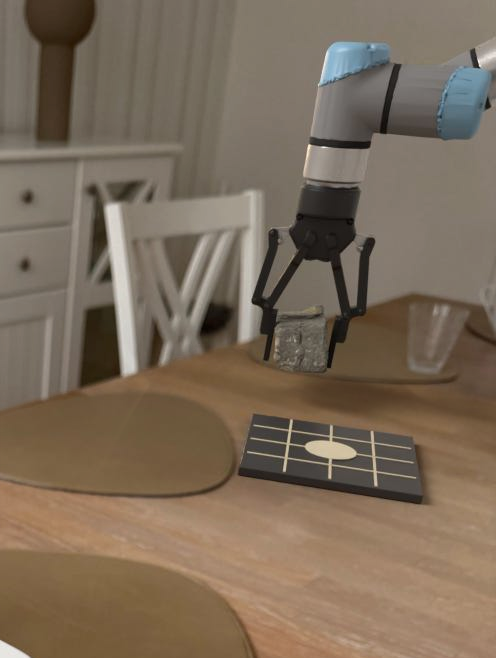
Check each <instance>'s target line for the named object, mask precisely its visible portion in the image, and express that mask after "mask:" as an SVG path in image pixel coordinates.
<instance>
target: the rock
mask: <svg viewBox="0 0 496 658" xmlns="http://www.w3.org/2000/svg"><path fill="white" fill-rule="evenodd" d="M324 311H325V307H324V305H323V304H319V303H317V304H314V305H312V306H310V307H308V308H307V309H304V310H301V311H297V310H291V311H287V310H286V311H285V310H280V311H278V313H277V318H276V324H275V329H274V335H275V336H274V337H275V339H274V341H275V342H274V353H273V361H274V363H276V366H277V368H278V369H280V370H281V371H283V372H293V373H306V374H307V373H308V374H325V373H327V372H328V368H327V360H328V348H329V347H328V319H327V317H326V315H325V312H324Z"/></svg>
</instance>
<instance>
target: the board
mask: <svg viewBox="0 0 496 658" xmlns="http://www.w3.org/2000/svg"><path fill="white" fill-rule="evenodd" d="M415 447H416V446H415V442H414V437H413V436H410V435H405V434H404V435H403V434H397V433H390V432H383V431H375V430H370V429H362V428H355V427H350V426H349V427H348V426H343V425H335V424H334V425H333V424H327V423H322V422H321V423H320V422H315V421H307V420H301V419H294V418H289V417H288V418H287V417H281V416H274V415H266V414H261V413H255V412H254V413H253V412H252V414H251V417H250V422H249V426H248V429H247V435H246V437H245V441H244V446H243V450H242V454H241V457H240V461H239V466H238V471H237V475H238V476H243V477H249V478H256V479H260V480H261V479H262V480H268V481H274V482H280V483H287V484H294V485H299V486H305V487H312V488H317V489H319V488H320V489H326V490H332V491H336V492H338V491H339V492H344V493H351V494H357V495H363V496H369V497H376V498H381V499H387V500H393V501H400V502H407V503H411V504H412V503H413V504H419V505H422V502H423V498H424V492H423V488H422V481H421V476H420V470H419V465H418V464H419V463H418V459H417V453H416V448H415Z"/></svg>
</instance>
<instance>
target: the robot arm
mask: <svg viewBox="0 0 496 658" xmlns="http://www.w3.org/2000/svg"><path fill="white" fill-rule="evenodd" d="M495 106H496V36H494V37H492V38H490V39H487V40H486V41H485V42H482V43H480V44H478V45H477V46H474V47H473V48H471V49H468V50H466V51H464V52H463V53H461V54H458V55H457V56H455V57H453V58H451V59H449V60H446V61H445V62H443V63H440V64H438V65H431V64H430V65H429V64H427V65H426V64H402V63H396V62H393V61H392V62H391V47H390V45H388V44H387V43H379V42H377V43H376V42H360V41H359V42H355V41H335V42H334V43H332V44H331V45H330V46H329V47H328V49H327V50H326V53H325V58H324V62H323V66H322V71H321V75H320V79H319V82H318V84H317V92H316V98H315V105H314V111H313V116H312V123H311V128H310V133H309V134H310V135H309V141H308V144H307V145H308V146H307V149H306V155H305V160H304V167H303V172H302V177H303V179H305V180H306V182H303V183H302V185H300V189H299V195H298V200H297V206H296V211H295V217H294V219H293V221H292V222H291V224H290V225H289V226H279V227H278V226H276V225H273V226H271V227H270V228H269V231H268V238H267V239H268V241H267V243H268V248H267V251H266V253H265V256H264V260H263V263H262V266H261V269H260V272H259V275H258V278H257V281H256V284H255V287H254V291H253V294H252V297H251V300H250V301H251V304H252V305H253V306H257V307H259V308H260V309H261V310H262V316H261V320H260V321H261V322H260V326H259V327H260V328H259V333H260V335H264V336H266V341H265V347H264V353H263V358H262V361H264V362H269V361H270V356H271V351H272V345H273V341H274V335H275V324H276V319H277V314H278V313H279V309H278V308H274V307H275V305H276V304H277V302H278V301H279V299H280V297H281V296H282V294H283V293H284V291H285V289H286V288H287V286H288V284H289V283H290V281H291V280H292V278H293V276H294V275H295V273H296V271H297V270H298V269H299V267H300V265H301V264H302V262H303V261H309V262H311V261H320V262H322V263H330V266H331V270H332V276H333V280H334V286H335V290H336V296H337V301H338V304H339V305H338V306H339V310H340V315H339V314H338V315H336V314H335V316H334V319H333V325H332V329H331V330H332V331H331V334H330V339H329V344H328V347H327V348H328V360H327V369H332V364H333V360H334V355H335V351H336V346H337V344H344V343H345V342H346V341H347V340H346V339H347V336H348V331H349V326H350V323H351V321H352V319H353V318H357V317H363V316H366V314H367V305H368V288H369V275H370V274H369V273H370V272H369V271H370V257H371V255H372V252H373V250H374V248H375V245H376V237H375V235H373V234H368V235H366V234H363V233H360V232H357V230H356V226H355V224H356V222H355V221H356V219H357V218H356V217H357V214H358V209H359V203H360V198H361V194H362V190H361V187H359V185H358V184H362V183H363V182H364V179H365V174H366V170H367V164H368V160H369V156H370V152H371V151H370V150H371V145H372V139H373V136H374V134H380V135H395V136H403V137H404V136H406V137H414V138H426V139H429V138H430V139H439V140H442V141H453V140H458V141H459V140H462V141H467V140H471V139H474V138H475V137H476V135H478V133H479V129H480V126H481V122H482V118H483V114H484V112H485V111H487V110H489V109H491V108H493V107H495ZM289 236H290V238H291V241H292V243H293V245H294V247H295V249H296V251H295V252H294V254H293V255H292V257H291V259H290V261H289V262H288V264H287V266H286V267H285V268H284V270H283V272H282V274H281V275H280V277H279V279H278V280H277V282H276V283H275V285H274V287H273V288H272V290H271V292H270V294H269V295H268V297H266V296H265V295H263V294H264V291H265V289H266V287H267V286H266V285H267V283H268V280H269V276H270V273H271V271H272V267H273V264H274V260H275V258H276V256H277V253H278V249H279V246H281V245H283V244H284V243H285V240H286V238H287V237H289ZM353 242H355V245H356V246H355V249H356V251H357V252H358V253H359V258H358V271H357V272H358V273H357V274H358V275H357V290H356V304H355V305H351V304H350V298H349V294H348V288H347V283H346V277H345V272H344V267H343V263H342V256H341V254H342V253H343V252H344V251H345V250H346V249H347V248H348V247H349V246H350V245H351V244H352V243H353Z"/></svg>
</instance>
